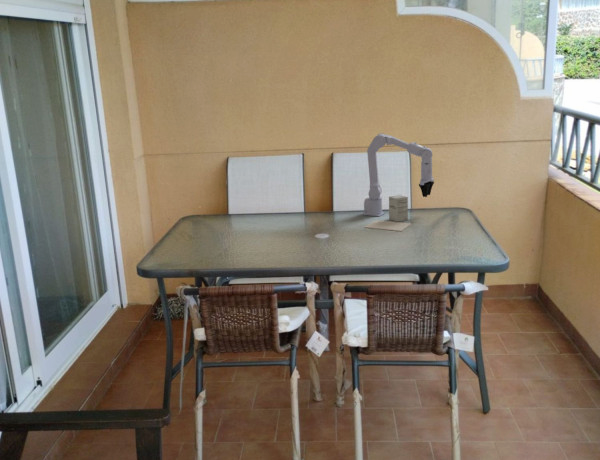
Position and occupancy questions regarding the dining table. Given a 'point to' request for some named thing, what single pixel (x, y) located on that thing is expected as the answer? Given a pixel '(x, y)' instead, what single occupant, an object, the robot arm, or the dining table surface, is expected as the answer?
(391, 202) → the supplement box
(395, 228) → the mat
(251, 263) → the dining table surface
